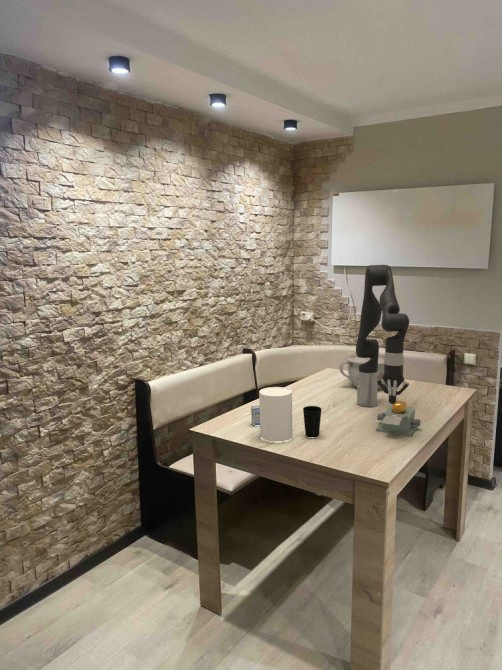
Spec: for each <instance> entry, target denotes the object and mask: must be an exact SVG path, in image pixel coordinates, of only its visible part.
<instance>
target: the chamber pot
mask: <svg viewBox="0 0 502 670" xmlns="http://www.w3.org/2000/svg"><path fill="white" fill-rule="evenodd" d="M384 356H385V353H379V355H378V377H377V381H378V380H380V379H382V377H383V375H384ZM369 360H370V358H359V357H358V356H357V355H356V353H353V354H350V355H347V356H346V357H345V359H344V360H342V361H341V362H340V364H339V366H338V367H339V369H338V370H339V372H340V374H341V375H342V376H343V377H345V378H347V379H348V380H349V381H350V383H351V384H353V386H354V387H356V388H357V386H358V384H359V365H361V364H363V363H365V362H367V361H369ZM345 364H346V365H347V374H348V375H347V374H346V373H345V372H344V370H343V367H344V365H345ZM384 384H385V386H386V387H387V385H386V383H385V382H384ZM379 390H382V389H381V387H380V386H379V384H378V383H377V391H379Z"/></svg>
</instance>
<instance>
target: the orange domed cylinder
mask: <svg viewBox="0 0 502 670" xmlns="http://www.w3.org/2000/svg"><path fill="white" fill-rule="evenodd" d="M390 406H391V412H393V413H396V414H404V413H406V408H407V402H406V401H403V400H396V403H395V404H394V405H393V404H390Z"/></svg>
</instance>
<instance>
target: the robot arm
mask: <svg viewBox="0 0 502 670" xmlns="http://www.w3.org/2000/svg"><path fill="white" fill-rule="evenodd" d="M365 269H366V270H365V275H364V286H363V289H364V290H363V300H362V304H361V305H362V306H361V311H360V320H359V330H358V335H357V338H356V344H355V354H356V355H357V356H358V357H359V358H370V360H369V361H367V362H365V363H363V364H361V365H359V384H358V386H357V387H356V405H358V406H360V407H366V408H372V407H377V405H378V390H377V383H378V384H379V386H380V387H381V389H380V390H382V391H383V393H384V394H387V395H388V403H389V404H390V405H392V404H393V405H394V404H395V403H396V401H397V396H400V395H402V393H404V391H405V390H406V389H407V388H408V387H409V386H410V382H407V381H406V380H405V378H404V366H405V365H404V364H405V360H404V358H405V357H404V355H405V354H404V343H405V338H406V335H407V332H408V330H409V329H408V328H409V326H410V318H409V316H408V315H407V313H400V311H401V308H400V305H399V302H398V299H397V296H396V288H395V283H394V277H393V270H392V268H391V267H390V265H388V264H371V265H367V267H366V268H365ZM378 286H379V287H380V286H383V287H384V289H383V290H382V292H381V294H380V296H379V300H378V299H377V297H376V295H375V293H374V290H373V287H378ZM380 322H381V325H380V326H381V328H382V329H383V330H384V331H385V332H396V333H395V334H394V335H391V336H387V337H386V338H385V342H384V343H385V346H384V354H385V356H384V375H383V377H382V379H380V380H378V381H377V377H378V355H379V354H380V352H379V351H380V344H379V340H377V339H376V338H375V339H374V338H372V339H371V338H369V339H368V336H369V335H370V334H371V333H372V332H373V331H374V330H375V329H376V328H377V327H378V325H379V324H380ZM384 382H385V383H386V386H385V384H384ZM400 386H402V387H401V388H400V389H399V390H398V388H399V387H400Z"/></svg>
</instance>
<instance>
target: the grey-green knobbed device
mask: <svg viewBox="0 0 502 670" xmlns="http://www.w3.org/2000/svg"><path fill="white" fill-rule="evenodd" d="M386 414H389V415H397V416H403V419H402V421H401V423H400V425H393V424H386V423H382V420H383V419H384V417H385V416H386ZM415 417H416V408H412V407H406V413H404V414H396V413H393V412H391V405H389V406H388V407H387V408H386V410H385V411H383V412H381V413H377V417H376V419H377V421H380V422H381V423H380V424H379V425H378V426H377V427H376V429H375V431H376V432H380V433H387V434H392V435H393V434H394V435H400V436H406V437H413V435H414V434H415V432H416V430H417V429H418V427H420V426H421V424H422V423H421V419H419V418H415Z"/></svg>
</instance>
